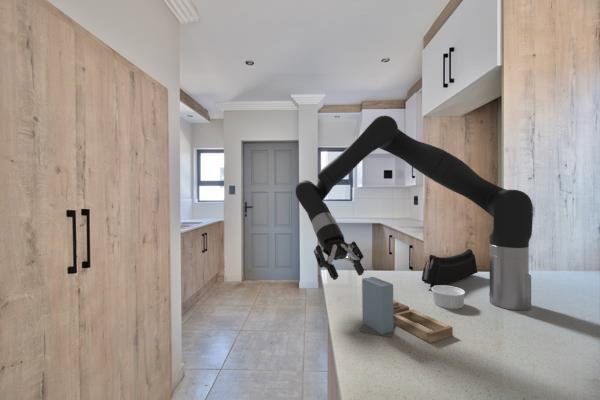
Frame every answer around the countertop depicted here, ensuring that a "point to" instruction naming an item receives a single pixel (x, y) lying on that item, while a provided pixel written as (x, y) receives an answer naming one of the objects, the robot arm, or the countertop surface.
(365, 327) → the pad
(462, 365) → the countertop surface
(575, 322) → the countertop surface
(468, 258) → the magazine
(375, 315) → the blue-grey rectangular block
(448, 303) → the ramekin
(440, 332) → the rack
